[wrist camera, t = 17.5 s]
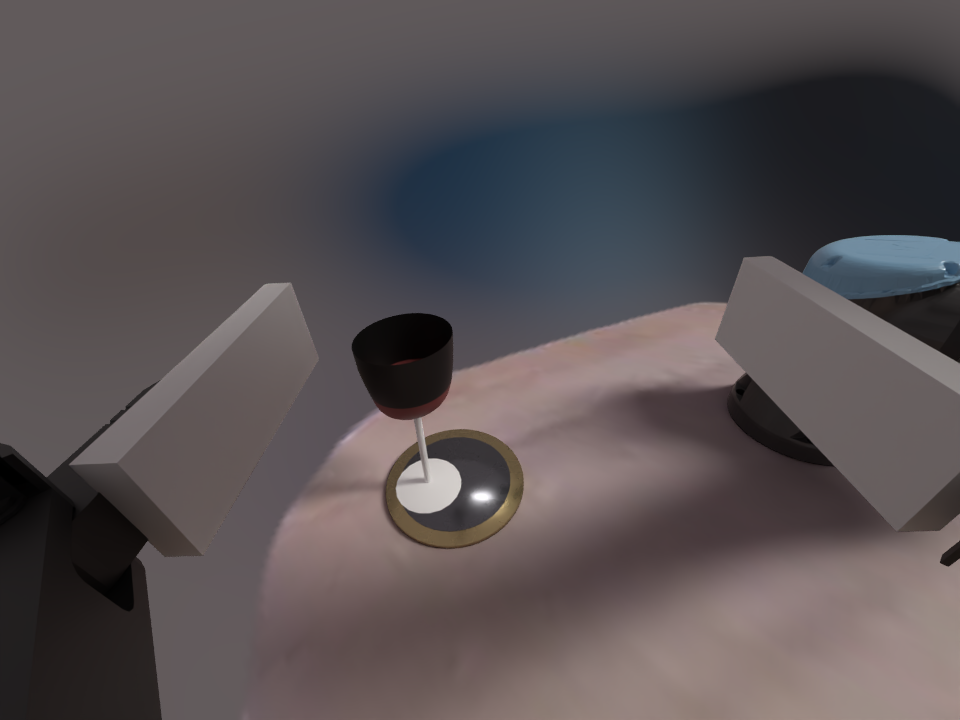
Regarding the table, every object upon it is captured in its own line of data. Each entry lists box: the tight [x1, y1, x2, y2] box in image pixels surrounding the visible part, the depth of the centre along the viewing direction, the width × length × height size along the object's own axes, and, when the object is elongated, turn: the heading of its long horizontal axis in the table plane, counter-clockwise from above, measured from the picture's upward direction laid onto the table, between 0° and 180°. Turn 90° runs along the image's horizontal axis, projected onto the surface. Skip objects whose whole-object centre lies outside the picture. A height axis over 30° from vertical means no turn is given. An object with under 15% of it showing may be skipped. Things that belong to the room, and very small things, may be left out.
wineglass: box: [352, 313, 461, 513], centre depth 38 cm, size 8×9×20 cm
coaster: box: [386, 429, 523, 549], centre depth 45 cm, size 16×16×1 cm
